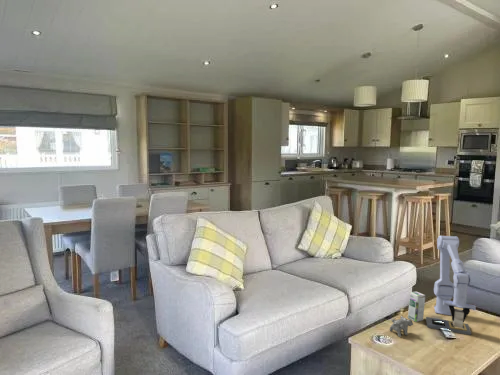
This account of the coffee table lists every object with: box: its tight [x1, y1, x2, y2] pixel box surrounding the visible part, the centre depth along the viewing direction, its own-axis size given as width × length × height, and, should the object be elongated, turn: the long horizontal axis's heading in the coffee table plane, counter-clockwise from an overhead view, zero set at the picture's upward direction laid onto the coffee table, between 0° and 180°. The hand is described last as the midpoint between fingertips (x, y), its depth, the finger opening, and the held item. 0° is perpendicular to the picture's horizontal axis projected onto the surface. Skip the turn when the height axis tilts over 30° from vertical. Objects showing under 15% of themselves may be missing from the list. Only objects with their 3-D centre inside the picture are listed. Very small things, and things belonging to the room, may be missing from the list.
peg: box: [452, 308, 464, 329], centre depth 196 cm, size 4×4×8 cm
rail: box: [425, 316, 472, 336], centre depth 198 cm, size 10×20×2 cm, turn 68°
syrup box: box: [407, 291, 426, 323], centre depth 206 cm, size 6×6×14 cm
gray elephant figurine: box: [389, 315, 414, 338], centre depth 191 cm, size 9×12×8 cm
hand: (457, 320), depth 196 cm, fingers closed on peg, 4 cm apart
